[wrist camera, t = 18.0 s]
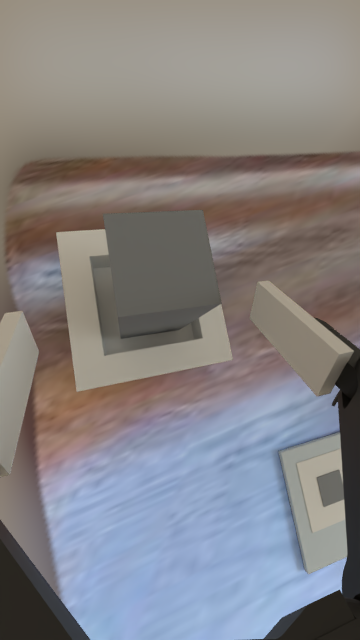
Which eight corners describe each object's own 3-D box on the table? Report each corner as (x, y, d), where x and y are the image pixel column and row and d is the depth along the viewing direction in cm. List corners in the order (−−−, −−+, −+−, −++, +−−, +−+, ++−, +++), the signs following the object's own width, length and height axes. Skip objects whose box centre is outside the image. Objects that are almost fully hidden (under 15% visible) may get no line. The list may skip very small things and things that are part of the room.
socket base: (192, 243, 30) (204, 223, 26) (216, 360, 28) (232, 359, 24) (67, 253, 27) (56, 232, 23) (84, 387, 25) (76, 391, 21)
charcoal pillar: (169, 275, 27) (202, 210, 16) (179, 330, 27) (221, 303, 15) (112, 280, 26) (102, 213, 14) (120, 339, 25) (117, 317, 14)
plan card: (350, 428, 31) (355, 430, 30) (379, 537, 29) (385, 541, 28) (278, 451, 28) (282, 453, 28) (304, 570, 27) (309, 575, 26)
